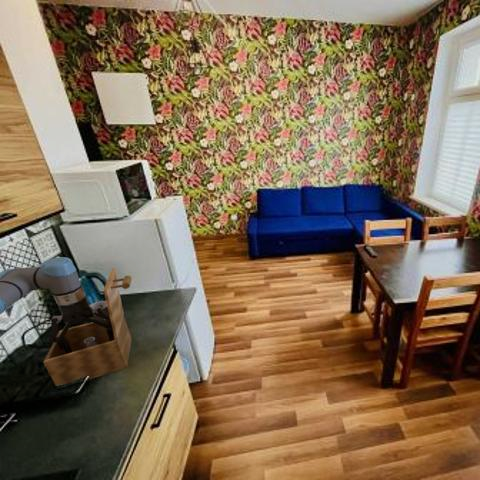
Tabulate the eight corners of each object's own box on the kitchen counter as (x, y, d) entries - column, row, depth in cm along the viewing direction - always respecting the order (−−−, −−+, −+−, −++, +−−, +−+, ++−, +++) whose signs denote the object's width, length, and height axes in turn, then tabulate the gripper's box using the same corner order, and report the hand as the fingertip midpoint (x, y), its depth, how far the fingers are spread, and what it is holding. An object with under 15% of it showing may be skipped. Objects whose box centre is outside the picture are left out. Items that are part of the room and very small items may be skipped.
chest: (58, 390, 92) (43, 362, 87) (72, 356, 106) (59, 330, 101) (127, 367, 101) (116, 341, 96) (131, 338, 115) (122, 314, 110)
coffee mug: (86, 329, 120) (79, 311, 116) (105, 317, 128) (98, 299, 124) (107, 333, 117) (100, 315, 114) (124, 320, 125) (118, 303, 121)
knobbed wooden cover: (103, 290, 88) (126, 286, 91) (111, 268, 102) (131, 265, 105) (115, 340, 95) (136, 335, 98) (121, 313, 109) (140, 310, 112)
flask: (104, 349, 108) (96, 330, 104) (113, 357, 104) (105, 337, 100) (82, 362, 102) (73, 342, 98) (91, 370, 98) (81, 350, 94)
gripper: (18, 317, 84) (45, 367, 92) (113, 296, 95) (129, 342, 103) (28, 304, 90) (52, 352, 98) (116, 286, 101) (131, 330, 109)
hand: (92, 347), depth 101 cm, fingers open, 12 cm apart
